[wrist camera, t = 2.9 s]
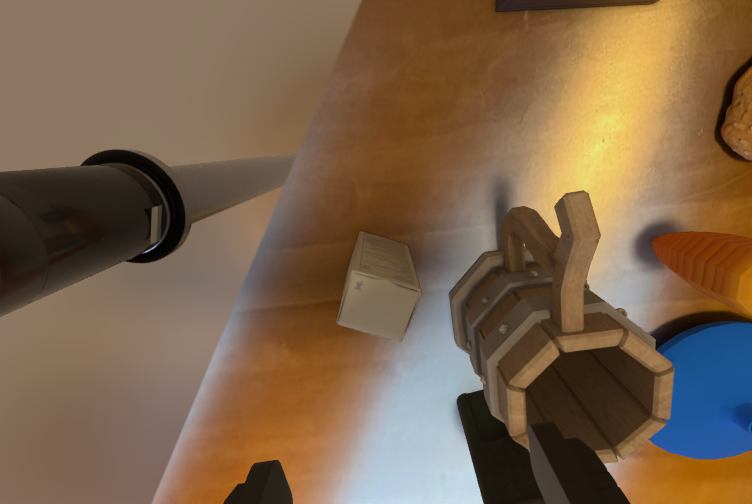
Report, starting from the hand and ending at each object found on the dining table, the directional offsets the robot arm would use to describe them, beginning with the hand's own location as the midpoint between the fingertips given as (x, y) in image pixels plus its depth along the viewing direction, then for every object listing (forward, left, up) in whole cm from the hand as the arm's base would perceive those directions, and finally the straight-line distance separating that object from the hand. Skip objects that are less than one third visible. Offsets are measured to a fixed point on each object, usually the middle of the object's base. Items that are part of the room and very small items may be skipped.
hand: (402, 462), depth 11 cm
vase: (+32, -15, -24) cm, 43 cm away
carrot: (+25, 0, -24) cm, 35 cm away
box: (-1, -1, -24) cm, 24 cm away
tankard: (+12, -3, -24) cm, 27 cm away
